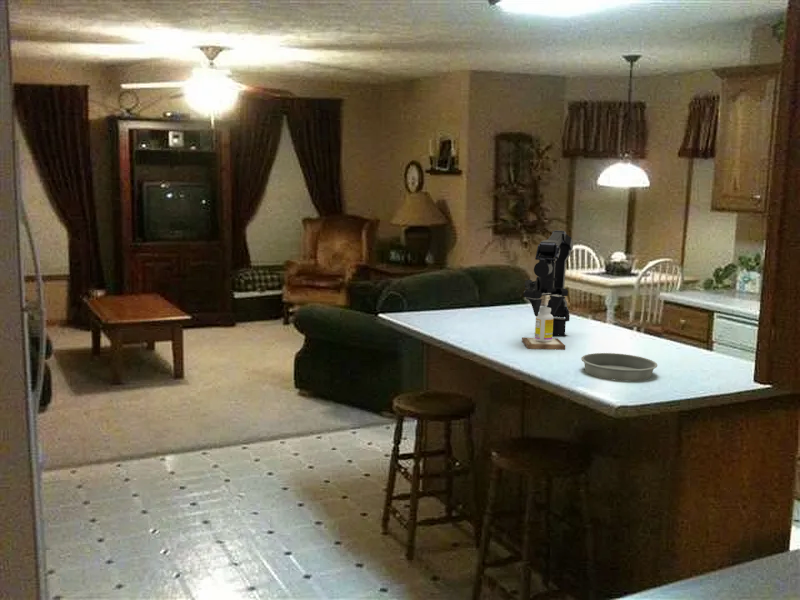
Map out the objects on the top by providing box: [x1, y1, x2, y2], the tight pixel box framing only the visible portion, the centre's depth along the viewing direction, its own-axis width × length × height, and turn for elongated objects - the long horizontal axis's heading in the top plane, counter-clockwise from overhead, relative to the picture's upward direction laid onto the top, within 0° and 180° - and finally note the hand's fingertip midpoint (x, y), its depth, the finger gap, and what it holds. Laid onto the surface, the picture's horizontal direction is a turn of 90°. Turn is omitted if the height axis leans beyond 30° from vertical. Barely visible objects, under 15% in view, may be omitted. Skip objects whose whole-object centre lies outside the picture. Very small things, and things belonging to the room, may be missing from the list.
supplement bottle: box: [534, 306, 554, 342], centre depth 317 cm, size 7×7×13 cm
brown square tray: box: [521, 337, 566, 351], centre depth 318 cm, size 14×14×2 cm
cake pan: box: [580, 352, 658, 382], centre depth 276 cm, size 25×25×4 cm
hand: (544, 315), depth 316 cm, fingers open, 9 cm apart
